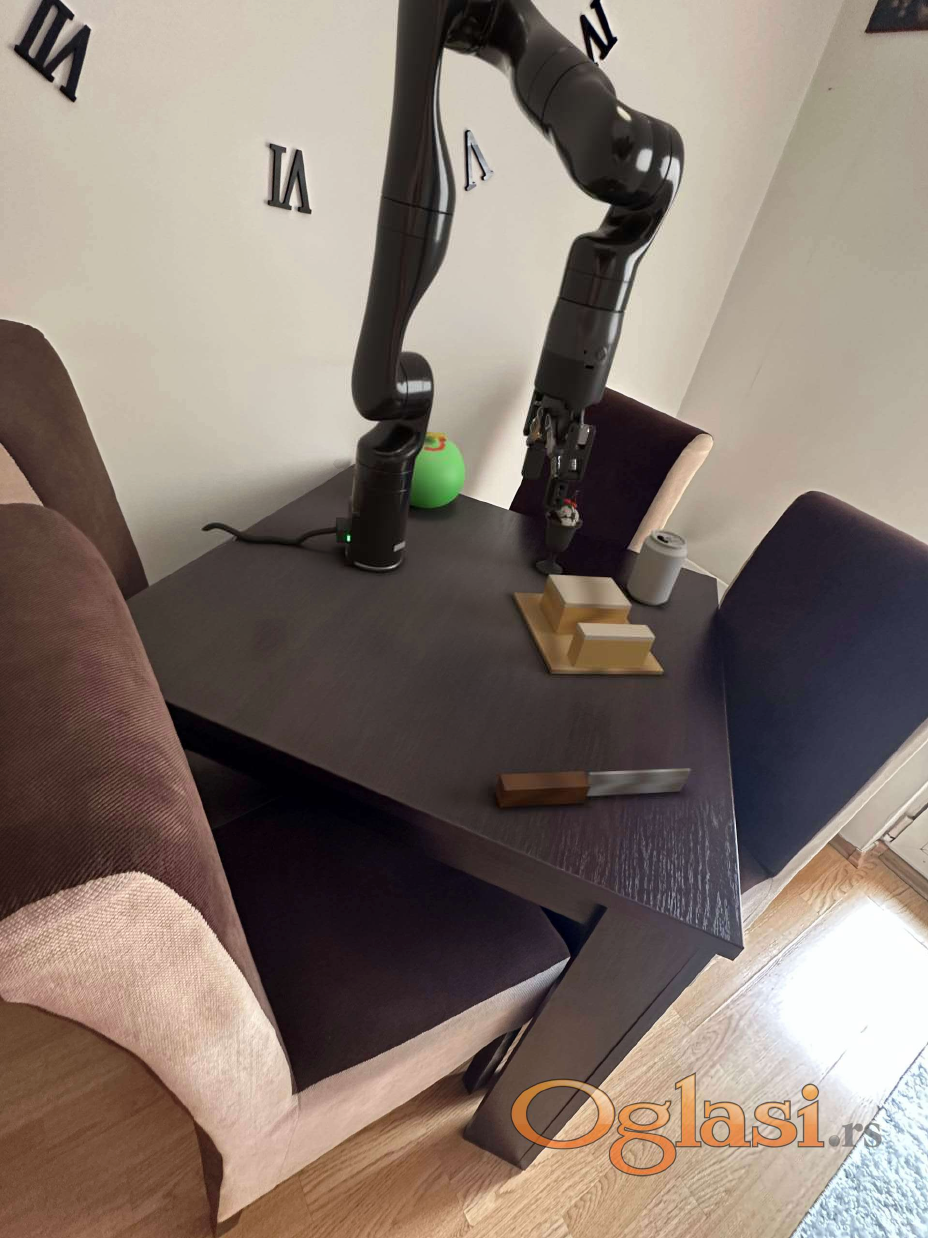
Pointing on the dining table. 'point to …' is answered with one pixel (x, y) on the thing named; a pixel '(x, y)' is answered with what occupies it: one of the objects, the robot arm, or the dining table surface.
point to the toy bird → (437, 472)
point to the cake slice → (610, 645)
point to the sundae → (559, 534)
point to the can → (657, 567)
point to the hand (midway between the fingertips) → (539, 492)
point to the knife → (583, 785)
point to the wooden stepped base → (575, 619)
